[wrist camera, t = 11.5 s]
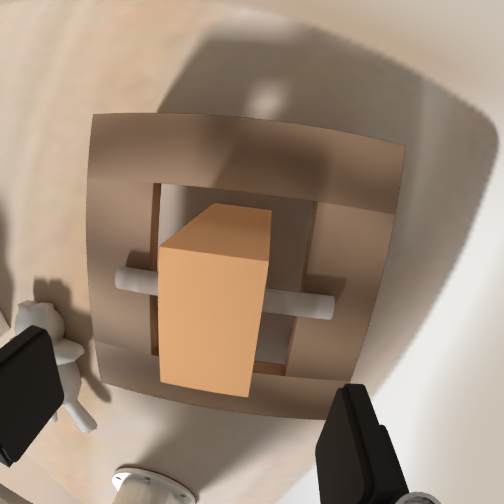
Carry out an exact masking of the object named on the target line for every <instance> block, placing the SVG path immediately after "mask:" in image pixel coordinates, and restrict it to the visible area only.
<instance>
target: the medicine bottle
mask: <svg viewBox="0 0 504 504" xmlns="http://www.w3.org/2000/svg"><path fill="white" fill-rule="evenodd" d="M9 330H10V328H9V326H8V324H7V322H6V320H5V318H4V316H3V314H2V312H1V310H0V338H1V337H2V336H3V335H5V334H6V333H7V332H8V331H9Z"/></svg>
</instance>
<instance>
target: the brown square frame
mask: <svg viewBox="0 0 504 504" xmlns="http://www.w3.org/2000/svg"><path fill="white" fill-rule="evenodd" d="M404 154H405V146H404V145H400V144H396V143H392V142H388V141H384V140H379V139H375V138H371V137H366V136H361V135H357V134H352V133H347V132H341V131H336V130H331V129H325V128H319V127H313V126H307V125H301V124H294V123H287V122H279V121H271V120H263V119H253V118H243V117H232V116H220V115H204V114H183V113H110V114H93V119H92V127H91V137H90V147H89V159H88V175H87V199H86V246H87V270H88V285H89V298H90V308H91V318H92V326H93V334H94V342H95V348H96V355H97V361H98V367H99V373H100V378H101V382H103V383H106V384H110V385H113V386H116V387H120V388H123V389H127V390H131V391H135V392H138V393H142V394H146V395H150V396H154V397H159V398H163V399H167V400H172V401H176V402H181V403H186V404H191V405H196V406H202V407H208V408H213V409H219V410H226V411H232V412H240V413H247V414H255V415H264V416H273V417H284V418H297V419H313V420H326V419H327V416H328V413H329V411H330V408H331V405H332V402H333V399H334V397H335V394H336V391H337V389H338V388H343V386H344V385H345V384H349V383H350V381H351V378H352V375H353V372H354V369H355V366H356V363H357V360H358V357H359V354H360V351H361V348H362V345H363V342H364V339H365V336H366V332H367V329H368V326H369V322H370V319H371V316H372V312H373V308H374V305H375V301H376V298H377V294H378V290H379V286H380V282H381V278H382V274H383V270H384V266H385V261H386V257H387V253H388V248H389V243H390V239H391V234H392V229H393V224H394V218H395V213H396V208H397V202H398V196H399V190H400V183H401V176H402V169H403V162H404ZM161 183H163V184H175V185H186V186H196V187H206V188H216V189H225V190H233V191H242V192H250V193H258V194H266V195H274V196H281V197H288V198H296V199H302V200H309V201H314V208H313V214H312V221H311V227H310V233H309V239H308V245H307V251H306V257H305V263H304V269H303V274H302V280H301V285H300V291H299V292H295V291H287V290H280V289H272V288H265V292H264V299H263V305H262V312H267V313H275V314H283V315H291V316H295V317H294V322H293V327H292V332H291V337H290V342H289V347H288V351H287V356H286V361H285V365H283V364H274V363H266V362H258V361H254V364H253V370H252V376H251V383H250V389H249V395H248V397H242V396H234V395H228V394H221V393H215V392H209V391H204V390H198V389H193V388H188V387H183V386H178V385H173V384H168V383H164V382H161V380H160V360H159V332H158V308H157V296H158V272H157V254H158V229H159V211H160V196H161Z"/></svg>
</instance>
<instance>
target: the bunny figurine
mask: <svg viewBox="0 0 504 504" xmlns="http://www.w3.org/2000/svg"><path fill="white" fill-rule="evenodd" d="M18 307H19V312H18V315H17V317H16V321H15V333H16V336H17V335H18V334H20V333H21V332H22V331H24V330H25V329H26V328H28V327H29V326H31V325H35V326H38V327H41V328H44V329H46V330H47V331H48V334H49V335H50V336H51V339H52V344H53V349H54V354H55V358H56V363H57V367H58V372H59V376H60V380H61V384H62V387H63V391H64V401H63V403H62V404H63V405H64V407H65V409H66V410H67V412H68V413H69V415H70V417H71V418H72V420H73V421H74V423H75V425H76V426H77V427H78V428H79V429H80V430H81V431H82V432H84V433H90V432H91V431H93V430H95V429H96V428H97V424H96V422H95V420H94V419H93V418H92V417H91V416H90V414H89V413H88V412H87V411H86V410H85V409H84V407H83V406H82V405H81V404H80V403H79V402H78V400H77V399H78V395H79V391H80V387H81V383H82V382H81V375H80V371H79V368H78V365H77V363H76V359H77V358H79V357H80V356H81V355H82V354H83V353H85V351H84V349H83V346H82V345H80V344H78V343H75V342H73V341H70V340H68V339H66V338H64V337H63V336H64V333H65V324H64V320H63V318H62V316H61V315H60V314H59V313H58V312H57V311H55V310H54V307H53V303H45V302H41V303H39V304H38V302H37V301H29V300H27V301H25V302H22V303H20V304H18ZM16 336H15V337H16ZM15 337H13V338H15ZM13 338H11V339H10V341H11V340H12V339H13ZM49 421H50V422H56V421H57V411H56V412H55V413H54V415H53V416H52V417H51V418H50V420H49Z"/></svg>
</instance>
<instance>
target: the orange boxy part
mask: <svg viewBox="0 0 504 504" xmlns="http://www.w3.org/2000/svg"><path fill="white" fill-rule="evenodd" d="M271 216H272V210H265V209H258V208H250V207H242V206H234V205H226V204H217V203H214V204H212V205H211V206H210V207H208V208H207V209H206V210H204V211H203V212H202V213H201V214H199V215H198V216H197V217H195V218H194V219H193V220H192V221H190V222H189V223H188V224H186V225H185V226H184V227H183V228H181V229H180V230H179V231H178V232H176V233H175V234H174V235H173V236H171V237H170V238H169V239H168V240H166V241H165V242H164V243H163V244H161V245H160V246H159V260H158V332H159V360H160V380H161V382H164V383H168V384H173V385H178V386H183V387H188V388H193V389H198V390H204V391H209V392H215V393H221V394H228V395H234V396H242V397H248V395H249V389H250V383H251V376H252V370H253V364H254V357H255V351H256V345H257V338H258V332H259V325H260V319H261V312H262V305H263V299H264V292H265V285H266V278H267V272H268V265H269V252H270V234H271Z"/></svg>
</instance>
